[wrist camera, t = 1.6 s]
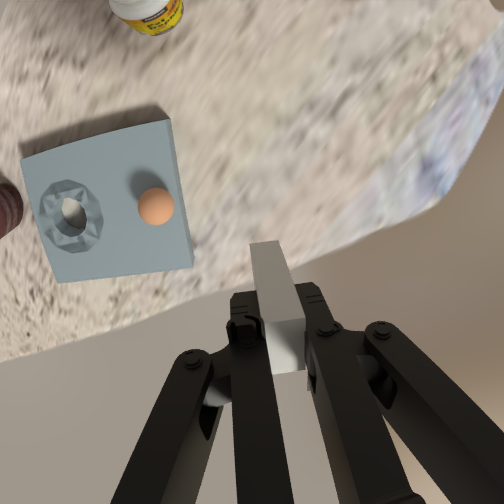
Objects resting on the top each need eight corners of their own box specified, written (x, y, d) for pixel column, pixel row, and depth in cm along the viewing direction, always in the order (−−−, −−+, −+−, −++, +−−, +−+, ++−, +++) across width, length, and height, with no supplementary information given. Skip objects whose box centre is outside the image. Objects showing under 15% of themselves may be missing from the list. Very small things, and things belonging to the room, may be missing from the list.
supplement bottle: (158, 47, 26) (129, 24, 17) (122, 20, 24) (84, -6, 15) (196, 10, 24) (184, -27, 15) (159, -16, 22) (135, -55, 13)
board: (31, 156, 29) (19, 160, 27) (170, 118, 29) (165, 119, 27) (65, 273, 36) (57, 283, 34) (194, 257, 37) (192, 267, 34)
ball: (139, 186, 30) (129, 197, 27) (173, 181, 30) (167, 190, 27) (146, 219, 32) (138, 233, 28) (179, 215, 32) (174, 228, 28)
